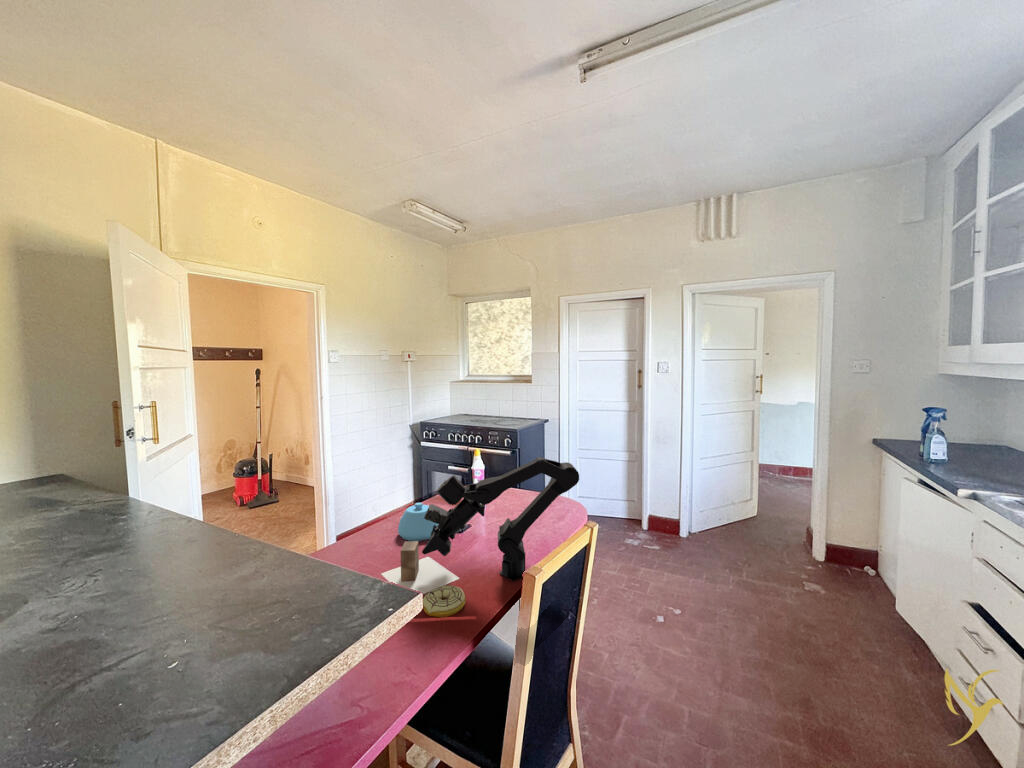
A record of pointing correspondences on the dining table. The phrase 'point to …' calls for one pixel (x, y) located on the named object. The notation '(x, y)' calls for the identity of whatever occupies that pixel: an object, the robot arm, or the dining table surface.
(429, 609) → the decorated donut
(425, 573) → the rubber mat
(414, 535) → the sugar bowl
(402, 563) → the walnut block
